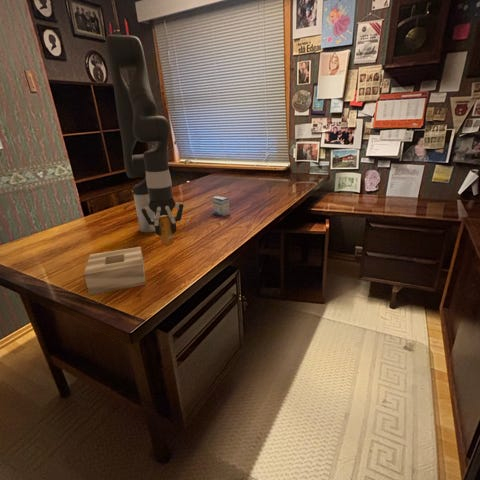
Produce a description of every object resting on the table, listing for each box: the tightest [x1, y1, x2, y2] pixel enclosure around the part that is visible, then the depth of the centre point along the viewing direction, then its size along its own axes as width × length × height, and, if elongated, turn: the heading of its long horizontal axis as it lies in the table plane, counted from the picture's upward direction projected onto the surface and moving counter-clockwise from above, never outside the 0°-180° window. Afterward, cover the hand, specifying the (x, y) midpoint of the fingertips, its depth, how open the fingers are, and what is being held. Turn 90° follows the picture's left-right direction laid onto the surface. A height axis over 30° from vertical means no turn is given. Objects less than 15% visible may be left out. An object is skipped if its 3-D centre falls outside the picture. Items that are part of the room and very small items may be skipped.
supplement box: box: [158, 215, 175, 247], centre depth 101 cm, size 3×3×10 cm
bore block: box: [83, 246, 147, 296], centre depth 95 cm, size 14×16×7 cm
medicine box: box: [211, 195, 230, 217], centre depth 153 cm, size 8×4×9 cm, turn 47°
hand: (166, 233), depth 102 cm, fingers closed on supplement box, 4 cm apart
